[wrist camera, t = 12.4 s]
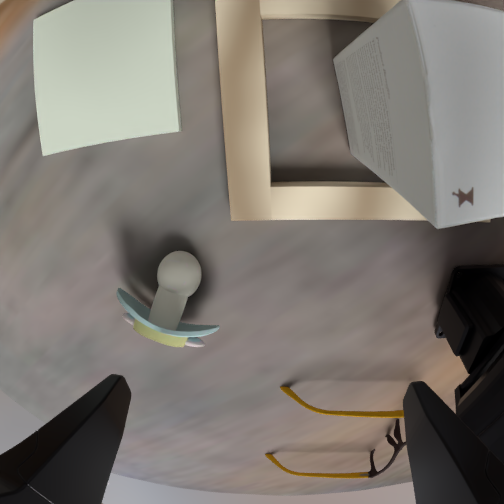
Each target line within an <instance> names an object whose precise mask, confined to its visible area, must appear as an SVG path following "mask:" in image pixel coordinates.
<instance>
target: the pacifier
mask: <svg viewBox="0 0 504 504" xmlns="http://www.w3.org/2000/svg"><path fill="white" fill-rule="evenodd" d="M157 280H158V284H159V287H158V290H157V292H156V295H155V298H154V301H153V304H152V307H151V309H149V308H147V307H146V306H144V305H143V304H141V303H140V302H139V301H138V300H136V299H135V298H134V297H132V296H131V295H129V294H128V293H127V292H125V291H124V290H122V289H121V288H118V290H117V297H118V300H119V301H120V303H121V304H122V306H123V307H124V308H125V309H126V310H127V311H128V312H129V313H124V314H123V315H122V316H123V318H124V319H125V320H126V321H127V322H129V323H131V324H132V325H134V327H133V328H134V330H135V331H136V332H138V333H139V334H141V335H142V336H144V337H147V338H149V339H151V340H154V341H157V342H159V343H162V344H165V345H168V346H174V347H184V345H188V346H193V347H203V346H204V345H205V343H204V342H203V341H202V340H201V339H199V338H198V337H199V336H204V335H208V334H211V333H213V332H215V331H217V330H218V329H219V327H220V326H219V325H217V326H216V325H194V324H187V323H182V322H180V319H181V316H182V314H183V311H184V308H185V305H186V302H187V299H188V297H189V296H190V295H192V294H193V293H194V292H195V291H196V290H197V288H198V286H199V284H200V281H201V267H200V265H199V262H198V261H197V259H196V258H195V257H194V256H193V255H192V254H190V253H188V252H185V251H175V252H172V253H170V254H168V255H167V256H166V257H165V258H164V259H163V260H162V262H161V263H160V265H159V268H158V272H157Z"/></svg>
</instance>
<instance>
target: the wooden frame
mask: <svg viewBox="0 0 504 504" xmlns="http://www.w3.org/2000/svg"><path fill="white" fill-rule="evenodd" d="M399 1H401V0H215V6H216V23H217V40H218V55H219V70H220V85H221V99H222V113H223V126H224V139H225V152H226V164H227V176H228V188H229V200H230V212H231V221H244V220H325V219H351V220H427V219H426V218H425V217H424V216H423V215H422V214H421V213H420V212H419V211H417V210H416V209H415V208H414V207H413V206H412V205H411V204H410V203H409V202H408V201H406V200H405V199H404V198H403V197H402V196H401V195H400V194H399V193H398V192H396V191H395V190H394V189H393V188H392V187H390V186H389V185H388V184H387V183H384V182H341V181H294V182H271V163H270V142H269V123H268V104H267V87H266V71H265V55H264V40H263V25H262V20H267V19H333V20H349V21H361V22H370V23H375V22H376V21H377V20H378V19H379V18H381V17H382V16H383V15H384V14H385V13H387V12H388V11H389V10H390V9H391V8H393V7H394V6H395V5H396V4H397V3H398V2H399ZM477 222H490V219H487V220H482V221H477Z"/></svg>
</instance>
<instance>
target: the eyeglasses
mask: <svg viewBox="0 0 504 504" xmlns="http://www.w3.org/2000/svg"><path fill="white" fill-rule="evenodd" d="M280 388H281V390H282V391H283V392H285V393H286V394H287V395H288V396H290V397H291V398H292V399H294V400H295V401H297V402H298V403H299V404H301V405H302V406H304V407H305V408H307V409H309V410H311V411H314V412H316V413H320V414H326V415H337V416H354V417H380V418H403V417H404V410H397V411H378V412H361V411H327V410H322V409H318V408H315V407H313V406H310V405H308V404H307V403H305V402H304V401H302V400H301V399H300V398H299V397H298V396H297V395H296V394H295V393H294V392H293V391H292V390H291V389H290V388H289V387H280ZM385 437H387V441H388V443H389V444H391V445H392V446H394V449H395V451H394V454H393V456H392V458H391V460H390V462H389V463H388V464H387V465H386V466H385V467H384V468H383V469H382V470H381V471H379V472H377V471H376V469H375V466H374V461H373V453H374V451H375V449H374V450H373V451H371V453H370V462H371V471H369V472H359V473H339V474H330V473H298V472H294V471H291V470H288V469H286V468H285V467H283V466H282V465H281V464H280V463H279V462H278V461H277V460H276V459H275V458H274V457H273V455H271V454H265V455H266V457H267V458H268V459H270V460H271V461H272V462H273V463H274V464H276V465H277V466H278V467H279V468H281V469H282V470H283V471H285V472H287V473H290V474H293V475H298V476H309V477H325V478H373V477H375V476H377V475H379V474H381V473H382V472H384V471H385V470H386V469H387V468H388V467H389V466H390V465H391V464H392V463H393V461H394V460H395V458H396V456H397V454H398V453H399V451H400V450H402V448H403V447H404V446H405V445H406V442H404V443H403V442H402V439H401V434H400V425H399V419H397V421H396V426H395V429H394V437H395V438H396V439H397V441H398V444H396V442H395V441H394V439H393V438H392V437H391V436H390V435H386V436H385Z"/></svg>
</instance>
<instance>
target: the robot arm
mask: <svg viewBox="0 0 504 504" xmlns="http://www.w3.org/2000/svg"><path fill="white" fill-rule="evenodd" d="M458 272H460V273H459V274H458V275H457V273H458ZM437 321H438V323H437V326H436V329H435V335H436V337H437V338H446V339H447V341H448V343H449V345H450V347H451V349H452V351H453V353H454V354H455V356H460V358H461V360H462V362H463V364H464V366H465V368H466V370H467V372H468V374H470V375H469V376H468V377H467V378H466V379H465V381H464V382H463V383H462V384H460V385H459V386H458V387H457V388H456V389H455V402H456V414H455V413H454V412H453V411H452V410H451V409H450V408H449V407H448V406H447V405H446V404H445V403H444V402H443V401H442V399H441V398H440V397H439V396H438V395H437V394H436V393H435V392H434V391H433V390H432V389H431V388H430V387H429V386H428V385H427V384H426V383H425V382H423V381H417V382H411V383H410V385H409V387H408V389H407V392H406V394H405V396H404V399H403V410H404V421H405V432H406V444H407V451H408V456H409V462H410V467H411V473H412V479H413V485H414V492H415V499H416V504H504V265H479V266H457V267H455V268H454V269H453V271H452V274H451V278H450V282H449V285H448V289H447V293H446V295H445V297H444V300H443V304H442V307H441V310H440V314H439V317H438V320H437ZM440 332H441V333H440ZM130 400H131V391H130V388H129V386H128V384H127V382H126V380H125V378H124V377H123V376H122V375H116V374H111V375H109V376H108V377H107V378H105V379H104V380H103V381H102V382H100V383H99V384H98V385H96V386H95V387H94V388H92V389H91V390H90V391H89V392H87V393H86V394H85V395H83V396H82V397H81V398H79V399H78V400H77V401H75V402H74V403H73V404H71V405H70V406H69V407H68V408H66V409H65V410H64V411H62V412H61V413H60V414H58V415H57V416H56V417H54V418H53V419H52V420H50V421H49V422H48V423H46V424H45V425H44V426H43V427H41V428H40V429H39V430H38V431H36V432H34V433H33V434H32V435H31V436H29V437H28V438H26V439H25V440H23V441H22V442H21V443H19V444H17V445H16V446H14V447H13V448H11V449H9V450H8V451H6V452H4V453H3V454H1V455H0V504H101V503H102V499H103V496H104V493H105V489H106V486H107V483H108V480H109V476H110V473H111V470H112V467H113V464H114V461H115V458H116V454H117V451H118V448H119V445H120V442H121V439H122V436H123V432H124V428H125V423H126V418H127V414H128V409H129V405H130Z"/></svg>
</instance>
